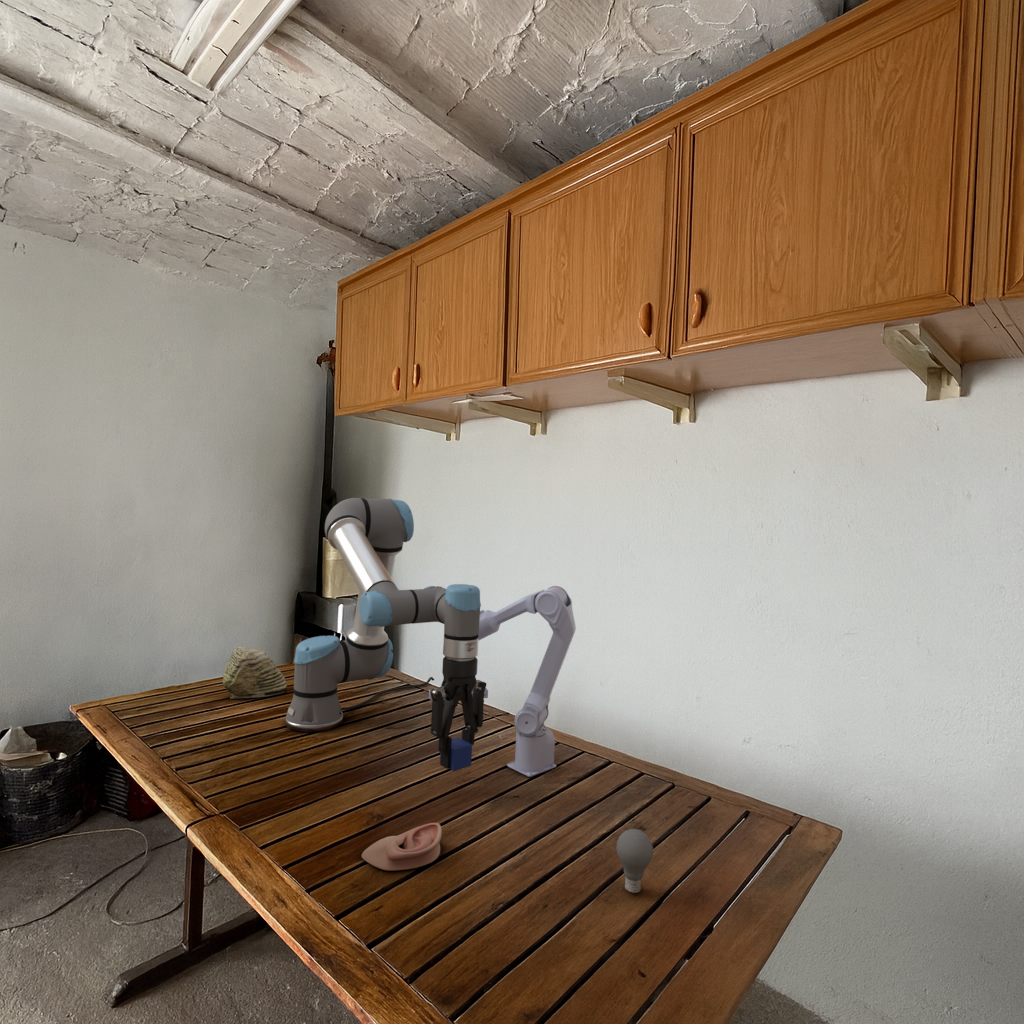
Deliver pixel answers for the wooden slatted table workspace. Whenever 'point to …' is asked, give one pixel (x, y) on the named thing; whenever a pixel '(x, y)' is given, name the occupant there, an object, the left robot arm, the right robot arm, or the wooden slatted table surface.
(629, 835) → the light bulb
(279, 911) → the wooden slatted table surface
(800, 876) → the wooden slatted table surface
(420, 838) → the anatomical model
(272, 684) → the fossil
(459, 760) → the blue cube
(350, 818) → the wooden slatted table surface
